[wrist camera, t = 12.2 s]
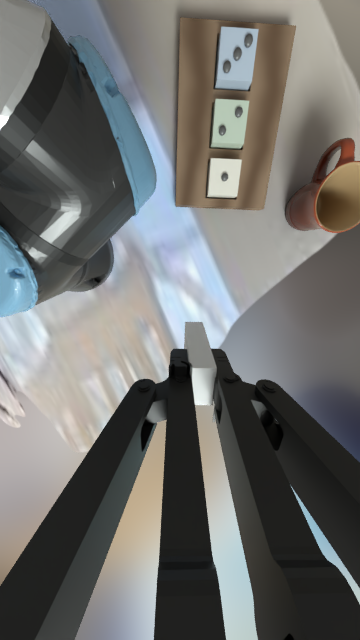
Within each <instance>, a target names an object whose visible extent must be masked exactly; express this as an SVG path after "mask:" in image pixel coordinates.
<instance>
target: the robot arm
mask: <svg viewBox="0 0 360 640" xmlns="http://www.w3.org/2000/svg"><path fill="white" fill-rule="evenodd" d="M156 180H157V179H156V170H155V166H154V163H153V160H152V157H151V154H150V151H149V149H148V146H147V144H146V141H145V139H144V137H143V134H142V132H141V130H140V128H139V126H138V123H137V121H136V119H135V117H134V115H133V113H132V111H131V109H130V107H129V105H128V103H127V101H126V99H125V98H124V96H123V95H122V94H121V93H120V92H119V90H118V87H117V85H116V83H115V81H114V79H113V77H112V75H111V73H110V71H109V69H108V67H107V65H106V64H105V62H104V61H103V59H102V57H101V56H100V54H99V53H98V52H97V50H96V49H95V48H94V46H93V45H92V44H91V43H90V42H89V40H87V39H86V38H84V37H82V36H80V35H79V36H76V37H72V36H71V37H70V38H69V39H68V44H67V43H66V41H65V40H64V38H63V37H62V35H61V34H60V32H59V31H58V29H57V27H56V26H55V24H54V23H53V21H52V20H51V18H50V16H49V15H48V13H47V12H46V10H45V9H44V8H43V7H41V6H38V5H36V4H34V3H31V2H29V1H27V0H0V317H5V316H10V315H13V314H15V313H19V312H23V311H28V310H29V309H31V308H33V307H34V306H35V305H37V304H39V303H41V302H44V301H46V300H48V299H50V298H52V297H54V296H57V295H59V294H61V293H63V292H65V291H73V292H83V291H88V290H91V289H94V288H96V287H97V286H99V285H101V284H102V283H103V282H104V281H105V280H106V279H107V278H108V276H109V275H110V273H111V271H112V268H113V262H114V254H113V248H112V245H111V242H110V240H109V239H110V238H111V237H112V236H113V235H114V234H115V233H116V232H117V231H118V230H119V229H120V228H121V227H122V226H123V225H124V224H125V223H126V222H127V221H128V220H129V219H130V218H131V217H132V216H136V215H137V214H138V212H139V209H140V208H141V207H142V206H143V204H144V203H145V202H146V201H147V200H148V199H149V198H150V197H151V196H152V194H153V193H154V191H155V188H156ZM213 399H214V404H215V407H214V414H213V422H215V419H216V423H217V428H218V433H219V438H220V442H221V447H222V452H223V456H224V461H225V466H226V470H227V475H228V480H229V484H230V489H231V494H232V498H233V502H234V507H235V512H236V517H237V522H238V526H239V531H240V535H241V540H242V545H243V549H244V554H245V559H246V563H247V568H248V573H249V577H250V582H251V587H252V592H253V599H254V613H255V623H256V631H257V636H258V640H360V604H359V602H358V600H357V598H356V596H355V594H354V592H353V591H352V589H351V587H350V585H349V584H348V582H347V580H346V578H345V577H344V576H343V575H342V573H341V572H340V571H339V569H338V568H337V567H336V566H335V565H333V564H332V563H331V562H329V561H328V560H327V559H326V558H325V556H324V555H323V554H322V552H321V550H320V548H319V546H318V544H317V542H316V540H315V537H314V535H313V533H312V531H311V529H310V527H309V525H308V523H307V520H306V518H305V516H304V514H303V512H302V509H301V507H300V505H299V503H298V501H297V499H296V496H295V494H294V492H293V490H292V488H293V489H294V491H295V492H296V494H297V495H298V497H299V498H300V499H301V501H302V502H303V504H304V506H305V507H306V509H307V510H308V511H309V513H310V515H311V516H312V517H313V519H314V520H315V522H316V523H317V525H318V526H319V528H320V529H321V531H322V532H323V534H324V535H325V537H326V538H327V540H328V541H329V543H330V544H331V546H332V547H333V549H334V550H335V552H336V553H337V555H338V556H339V558H340V559H341V561H342V562H343V564H344V565H345V567H346V568H347V570H348V571H349V573H350V574H351V576H352V577H353V579H354V580H355V582H356V583H357V584H358V586H359V588H360V462H358V461H357V460H356V459H355V458H354V457H353V456H352V455H351V454H350V453H349V452H348V451H347V450H346V449H345V448H344V447H343V446H342V445H341V444H340V443H339V442H337V440H335V439H334V438H333V437H332V436H331V435H330V434H329V433H328V432H327V431H326V430H325V429H324V428H323V427H322V426H321V425H320V424H319V423H318V422H317V421H316V420H315V419H314V418H312V417H311V416H310V415H309V414H308V413H307V412H306V411H305V410H304V409H303V408H302V407H301V406H300V405H299V404H298V403H297V402H296V401H294V399H293V398H292V397H291V396H289V395H288V394H287V393H286V392H285V391H284V390H283V389H282V388H281V387H280V386H279V385H278V384H276V383H275V382H272V381H270V380H259V381H258V382H257V383H256V385H253V384H249V383H246V382H243V381H242V380H241V378H240V377H239V376H238V375H237V374H235V373H234V372H233V369H232V367H231V365H230V363H229V360H228V358H227V356H226V354H225V352H224V351H222V350H221V349H211V348H210V345H209V342H208V338H207V335H206V332H205V329H204V326H203V323H202V322H185V343H184V349H173V350H172V351H171V355H170V365H169V377H168V378H167V379H166V380H165V381H163V382H161V383H157V384H155V382H154V381H152V380H150V379H141V380H138V381H136V382H135V383H134V384H133V385H132V387H131V388H130V390H129V391H128V393H127V394H126V396H125V397H124V399H123V400H122V402H121V403H120V405H119V406H118V408H117V409H116V411H115V412H114V414H113V415H112V417H111V418H110V420H109V421H108V423H107V425H106V426H105V428H104V429H103V431H102V432H101V434H100V435H99V437H98V438H97V440H96V441H95V443H94V444H93V446H92V447H91V449H90V450H89V452H88V453H87V455H86V457H85V458H84V460H83V461H82V463H81V464H80V466H79V467H78V469H77V470H76V472H75V473H74V475H73V476H72V478H71V479H70V481H69V482H68V484H67V485H66V487H65V488H64V490H63V492H62V493H61V495H60V496H59V497H58V499H57V501H56V502H55V504H54V505H53V507H52V508H51V510H50V511H49V513H48V514H47V516H46V517H45V519H44V520H43V522H42V523H41V525H40V526H39V528H38V529H37V531H36V532H35V534H34V536H33V537H32V539H31V540H30V542H29V543H28V545H27V546H26V548H25V549H24V551H23V552H22V554H21V555H20V557H19V558H18V560H17V561H16V563H15V564H14V566H13V567H12V569H11V570H10V572H9V574H8V575H7V577H6V578H5V580H4V581H3V583H2V584H1V586H0V640H74V639H75V637H76V634H77V632H78V629H79V627H80V624H81V621H82V619H83V616H84V613H85V611H86V608H87V606H88V603H89V600H90V598H91V595H92V593H93V590H94V587H95V584H96V582H97V579H98V577H99V574H100V572H101V569H102V566H103V564H104V561H105V559H106V556H107V553H108V550H109V548H110V545H111V543H112V540H113V538H114V535H115V532H116V530H117V527H118V524H119V522H120V519H121V516H122V514H123V511H124V509H125V506H126V503H127V501H128V498H129V495H130V493H131V491H132V488H133V485H134V483H135V480H136V477H137V475H138V472H139V470H140V467H141V464H142V461H143V459H144V457H145V454H146V451H147V448H148V446H149V443H150V441H151V438H152V435H153V433H154V430H155V428H156V425H157V422H160V421H163V420H166V419H167V422H166V441H165V442H166V443H165V460H164V479H163V499H162V517H161V536H160V555H159V567H158V578H157V593H156V611H155V629H154V640H226V636H225V629H224V620H223V612H222V604H221V596H220V589H219V583H218V577H217V571H216V567H215V565H214V562H213V557H212V551H211V542H210V533H209V524H208V517H207V508H206V498H205V489H204V482H203V472H202V463H201V454H200V446H199V437H198V428H197V420H196V411H195V405H213ZM276 420H277V421H278V422H277V421H276ZM290 485H291V486H292V488H291V486H290Z"/></svg>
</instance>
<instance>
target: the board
mask: <svg viewBox="0 0 360 640" xmlns="http://www.w3.org/2000/svg"><path fill="white" fill-rule="evenodd" d="M221 26H222V27H236V28H250V29H259V30H258V38H257V46H256V53H255V61H254V69H253V77H252V82H251V85H250V87H249V89H248V91H234V90H218V89H213V86H214V72H215V59H216V47H217V45H218V40H219V36H220V31H221ZM295 30H296V26H292V25H278V24H264V23H251V22H237V21H223V20H209V19H195V18H181V17H180V47H179V89H178V131H177V172H176V207H197V208H219V209H242V210H261V209H264V205H265V199H266V193H267V188H268V182H269V176H270V171H271V165H272V159H273V154H274V148H275V142H276V137H277V131H278V126H279V120H280V114H281V109H282V103H283V97H284V92H285V86H286V80H287V75H288V69H289V63H290V58H291V52H292V47H293V41H294V35H295ZM215 99H228V100H245V101H249V107H248V115H247V123H246V131H245V139H244V144H243V146H242V147H241V149H240V150H230V149H211V148H209V140H210V126H211V113H212V110H213V107H214V103H215ZM211 158H220V159H239V160H242V163H241V170H240V178H239V186H238V194H237V196H236V197H235V198H234V200H233V199H211V198H205V194H206V180H207V167H208V164H209V162H210V159H211Z"/></svg>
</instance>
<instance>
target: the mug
mask: <svg viewBox="0 0 360 640" xmlns="http://www.w3.org/2000/svg"><path fill="white" fill-rule="evenodd" d="M340 149H341V155H340V158H339V161H338V163H337V164H336V166H335V168H334V170H333V171H331V172H330V173H329V174H328V175H327V176H326V169H327V165H328V163H329V161H330V159H331V158H332V156H333V155H334V154H335V153H336V152H337V151H338V150H340ZM354 150H355V143H354V140H353V139H352V138H344V139H340V140H338V141H336V142H335V143H334V144H332V145H331V146H330V147H329V148H328V149H327V150H326V151H325V152H324V154H323V155H322V157H321V159H320V160H319V163H318V165H317V168H316V170H315V172H314V174H313V177H312V181H311V183H310V184H308V185H305V186H304V187H302V188H301V189H300V190H298V191H297V192H296V193H295V194H294V195H293V196H292V197H291V199H290V200H289V202H288V205H287V208H286V219H287V222H288V223H289V225H290V226H291V227H293V228H295V229H297V230H302V231H308V230H316V229H323V230H325V231H328V232H332V233H339V232H344V231H347V230H349V229H351V228H353V227H355V226H356V225H357V224H359V223H360V161H354V158H355V157H354Z"/></svg>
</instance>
